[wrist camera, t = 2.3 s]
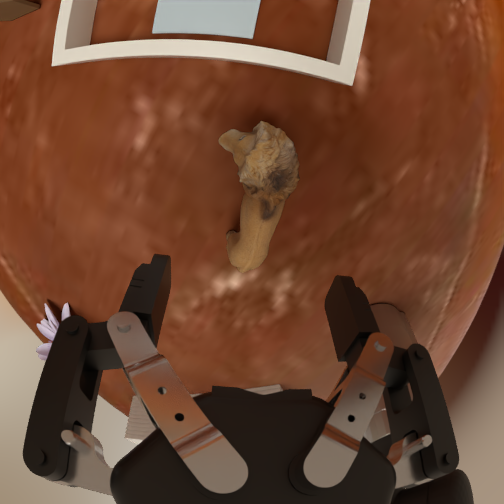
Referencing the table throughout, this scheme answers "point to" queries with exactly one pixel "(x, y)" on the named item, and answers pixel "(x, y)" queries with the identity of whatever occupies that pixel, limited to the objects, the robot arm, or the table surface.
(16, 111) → the table surface
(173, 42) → the low pen
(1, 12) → the photo frame
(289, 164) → the lion figurine
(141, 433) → the stack of papers
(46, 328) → the water lily
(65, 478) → the robot arm
